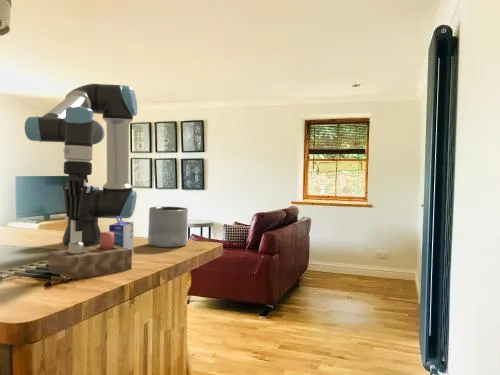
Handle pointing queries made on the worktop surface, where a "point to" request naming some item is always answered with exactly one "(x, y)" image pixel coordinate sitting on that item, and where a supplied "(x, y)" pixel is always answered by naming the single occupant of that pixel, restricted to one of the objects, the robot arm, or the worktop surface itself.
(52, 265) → the walnut block
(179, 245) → the planter
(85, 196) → the robot arm
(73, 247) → the grey plug
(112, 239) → the red plug
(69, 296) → the worktop surface
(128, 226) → the ink cartridge box
